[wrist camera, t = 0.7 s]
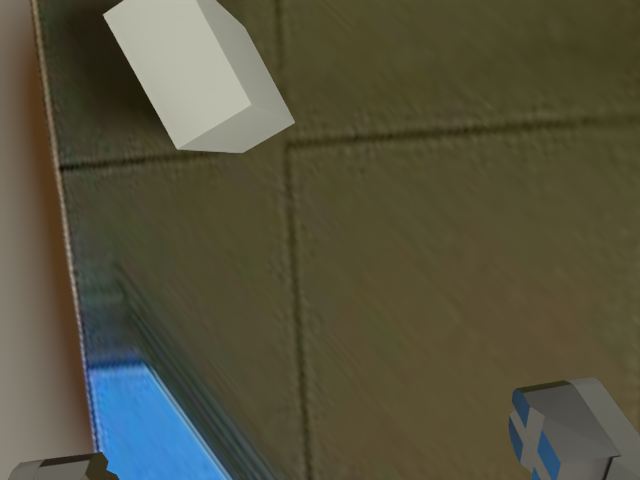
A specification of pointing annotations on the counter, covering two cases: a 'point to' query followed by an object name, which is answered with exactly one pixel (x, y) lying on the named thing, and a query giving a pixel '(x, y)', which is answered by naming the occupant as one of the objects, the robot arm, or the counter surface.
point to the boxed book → (200, 73)
